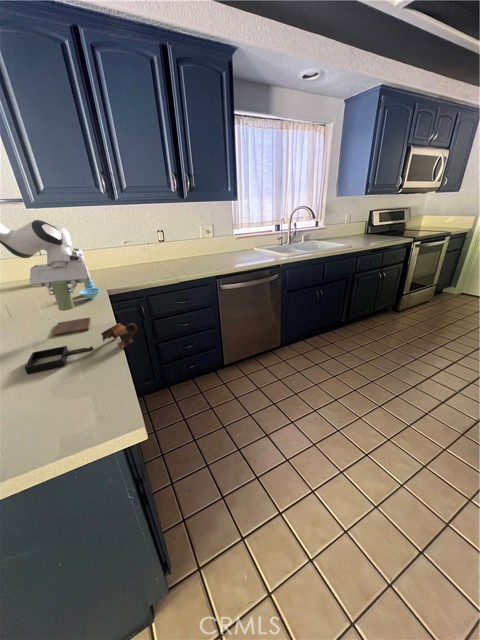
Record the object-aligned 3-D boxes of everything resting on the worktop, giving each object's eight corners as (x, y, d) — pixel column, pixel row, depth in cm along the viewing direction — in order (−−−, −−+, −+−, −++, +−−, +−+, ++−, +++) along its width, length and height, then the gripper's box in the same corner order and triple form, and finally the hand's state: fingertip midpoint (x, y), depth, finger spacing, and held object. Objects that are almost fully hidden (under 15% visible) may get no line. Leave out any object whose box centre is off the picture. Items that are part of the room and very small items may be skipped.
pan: (27, 374, 79) (24, 367, 78) (35, 358, 87) (32, 352, 86) (94, 359, 86) (92, 353, 85) (95, 346, 94) (93, 340, 93)
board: (53, 336, 102) (52, 334, 101) (58, 324, 112) (58, 322, 111) (88, 330, 106) (87, 328, 106) (90, 319, 116) (89, 317, 116)
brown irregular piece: (113, 354, 90) (99, 333, 88) (111, 354, 98) (97, 335, 96) (144, 334, 95) (131, 315, 94) (139, 336, 103) (127, 318, 102)
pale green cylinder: (58, 311, 102) (49, 284, 98) (60, 307, 107) (51, 280, 102) (73, 309, 104) (65, 282, 100) (75, 305, 108) (67, 279, 104)
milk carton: (80, 276, 187) (71, 247, 179) (89, 275, 187) (81, 247, 179) (73, 278, 181) (65, 249, 173) (83, 278, 181) (75, 248, 172)
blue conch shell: (102, 299, 140) (98, 283, 136) (80, 303, 135) (75, 286, 132) (101, 290, 154) (97, 275, 150) (81, 293, 150) (76, 278, 146)
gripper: (26, 261, 101) (26, 293, 96) (85, 256, 107) (88, 286, 102) (34, 270, 106) (34, 300, 102) (90, 265, 112) (92, 293, 108)
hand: (61, 293), depth 102 cm, fingers closed on pale green cylinder, 5 cm apart
